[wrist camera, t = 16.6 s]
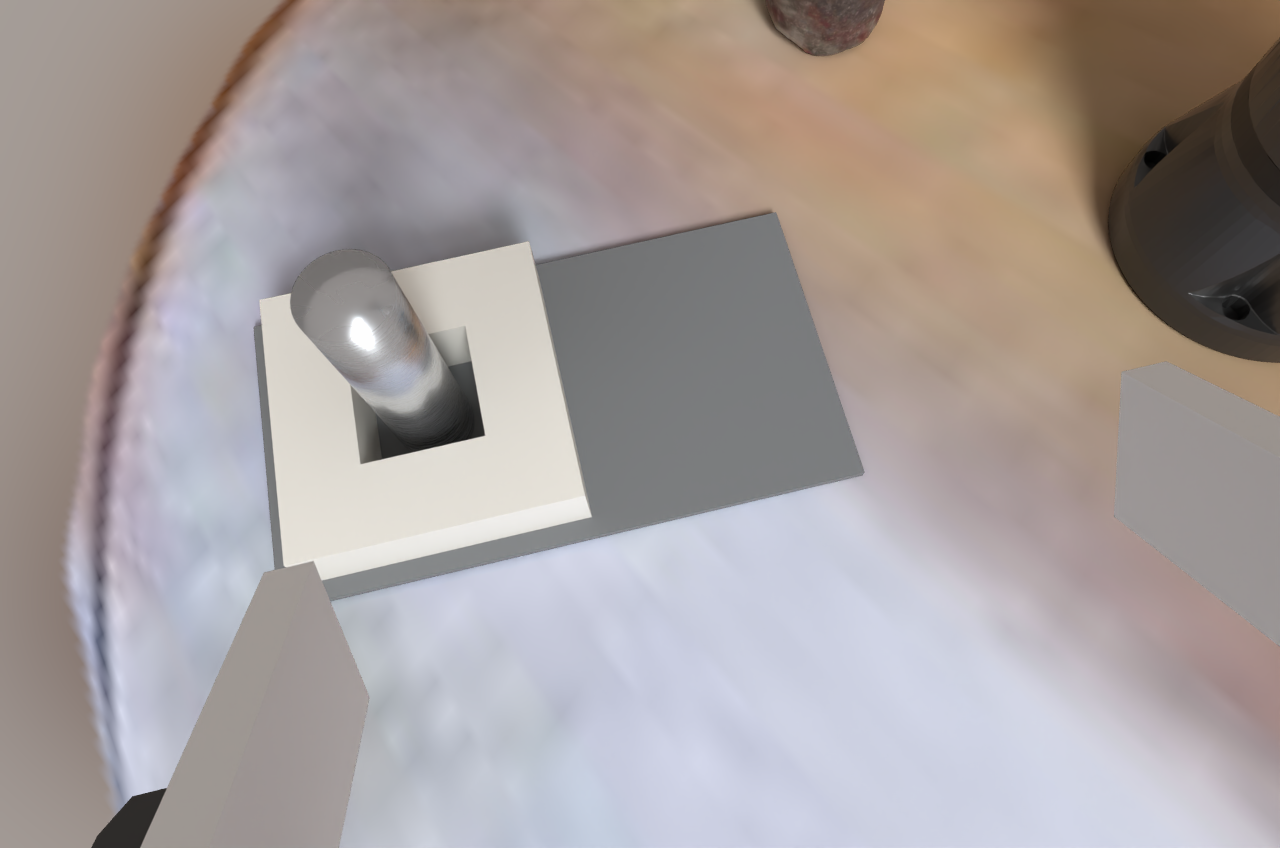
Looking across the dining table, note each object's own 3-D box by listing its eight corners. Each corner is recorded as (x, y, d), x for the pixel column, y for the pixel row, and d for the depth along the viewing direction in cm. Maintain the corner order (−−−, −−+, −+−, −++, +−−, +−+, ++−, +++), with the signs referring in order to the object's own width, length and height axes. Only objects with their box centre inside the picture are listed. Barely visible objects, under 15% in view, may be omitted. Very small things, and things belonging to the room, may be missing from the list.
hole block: (539, 279, 49) (528, 241, 45) (592, 516, 44) (584, 495, 41) (291, 334, 48) (259, 300, 45) (316, 581, 44) (283, 566, 40)
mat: (774, 217, 51) (776, 212, 50) (862, 475, 45) (864, 472, 45) (257, 330, 49) (253, 326, 49) (282, 612, 44) (278, 610, 43)
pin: (467, 380, 47) (387, 238, 34) (480, 448, 46) (402, 328, 33) (393, 397, 47) (284, 262, 34) (404, 466, 46) (295, 354, 32)
